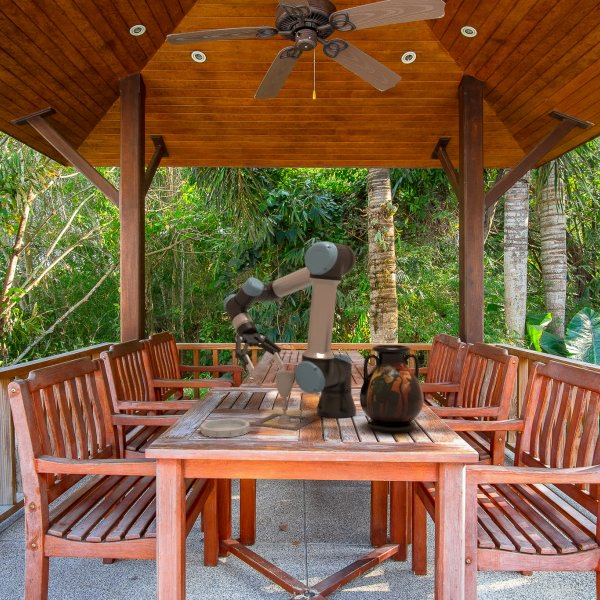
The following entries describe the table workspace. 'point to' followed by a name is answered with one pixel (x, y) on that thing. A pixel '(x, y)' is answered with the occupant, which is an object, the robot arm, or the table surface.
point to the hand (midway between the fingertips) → (267, 369)
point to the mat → (307, 421)
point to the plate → (224, 427)
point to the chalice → (284, 391)
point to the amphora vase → (391, 390)
